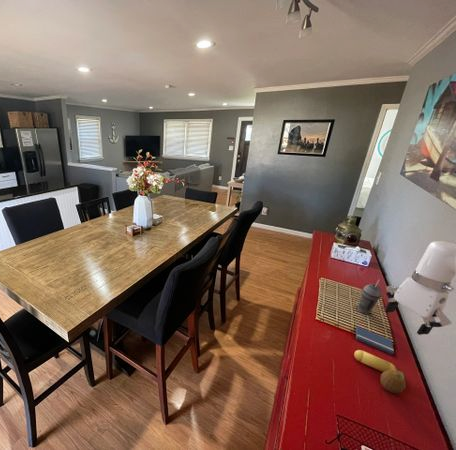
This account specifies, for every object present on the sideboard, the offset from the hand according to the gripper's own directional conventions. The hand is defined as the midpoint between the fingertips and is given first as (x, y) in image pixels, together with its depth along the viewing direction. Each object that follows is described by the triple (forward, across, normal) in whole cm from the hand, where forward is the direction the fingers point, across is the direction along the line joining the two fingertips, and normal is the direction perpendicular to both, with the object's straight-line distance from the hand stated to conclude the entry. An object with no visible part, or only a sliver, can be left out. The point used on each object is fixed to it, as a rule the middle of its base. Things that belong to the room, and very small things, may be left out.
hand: (404, 322), depth 80 cm
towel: (+26, +13, -15) cm, 32 cm away
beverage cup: (+26, +29, -28) cm, 48 cm away
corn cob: (+26, +2, -3) cm, 26 cm away
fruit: (+26, -6, +1) cm, 26 cm away
